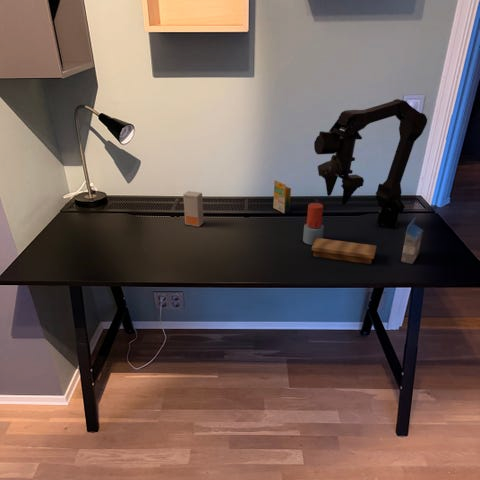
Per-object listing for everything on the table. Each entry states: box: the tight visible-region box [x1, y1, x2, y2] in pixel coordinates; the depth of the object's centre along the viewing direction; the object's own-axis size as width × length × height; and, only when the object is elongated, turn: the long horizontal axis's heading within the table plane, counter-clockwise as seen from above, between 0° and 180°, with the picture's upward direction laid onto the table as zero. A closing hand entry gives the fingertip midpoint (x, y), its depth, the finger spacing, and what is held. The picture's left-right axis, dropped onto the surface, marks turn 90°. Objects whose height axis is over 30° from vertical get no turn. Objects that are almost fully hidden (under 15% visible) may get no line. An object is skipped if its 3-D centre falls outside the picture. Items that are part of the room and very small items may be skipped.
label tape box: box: [400, 216, 424, 265], centre depth 147 cm, size 9×4×12 cm, turn 148°
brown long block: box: [311, 238, 378, 265], centre depth 151 cm, size 20×8×4 cm, turn 71°
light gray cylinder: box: [302, 223, 325, 246], centre depth 160 cm, size 7×7×8 cm
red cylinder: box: [305, 202, 324, 228], centre depth 157 cm, size 5×5×7 cm
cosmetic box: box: [182, 190, 205, 228], centre depth 172 cm, size 6×4×12 cm
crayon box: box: [272, 180, 292, 214], centre depth 183 cm, size 7×3×12 cm, turn 34°
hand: (336, 199), depth 159 cm, fingers open, 9 cm apart
